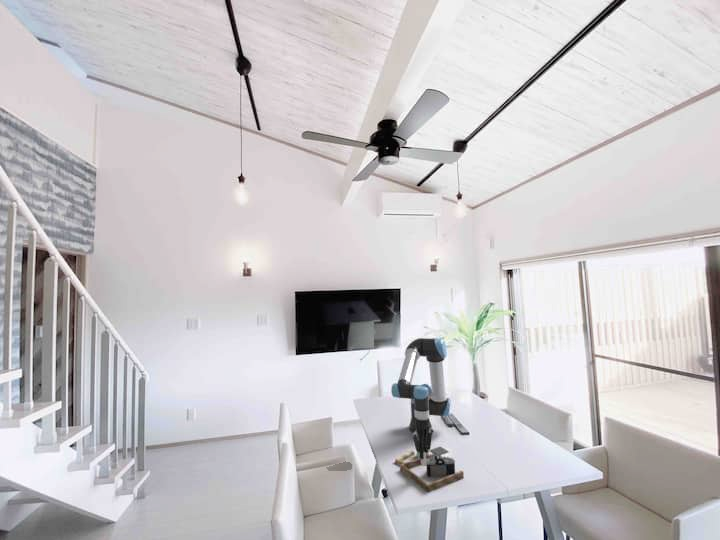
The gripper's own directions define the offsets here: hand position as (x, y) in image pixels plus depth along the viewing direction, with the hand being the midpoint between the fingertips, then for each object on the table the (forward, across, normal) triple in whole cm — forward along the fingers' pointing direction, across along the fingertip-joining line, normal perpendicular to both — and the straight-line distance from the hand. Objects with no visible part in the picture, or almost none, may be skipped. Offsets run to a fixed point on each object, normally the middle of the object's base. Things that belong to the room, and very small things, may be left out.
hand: (423, 464), depth 170 cm
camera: (+6, -9, +1) cm, 11 cm away
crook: (+6, -3, -18) cm, 19 cm away
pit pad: (+6, -24, -16) cm, 30 cm away
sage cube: (+6, -12, -16) cm, 21 cm away
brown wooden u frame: (+6, -5, 0) cm, 8 cm away
